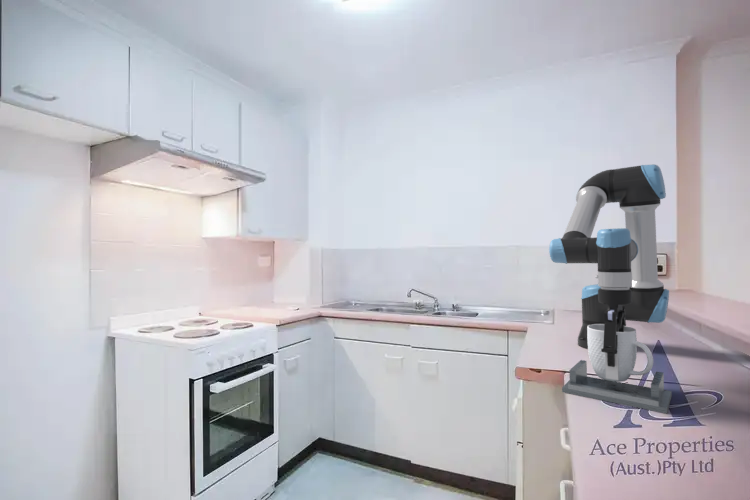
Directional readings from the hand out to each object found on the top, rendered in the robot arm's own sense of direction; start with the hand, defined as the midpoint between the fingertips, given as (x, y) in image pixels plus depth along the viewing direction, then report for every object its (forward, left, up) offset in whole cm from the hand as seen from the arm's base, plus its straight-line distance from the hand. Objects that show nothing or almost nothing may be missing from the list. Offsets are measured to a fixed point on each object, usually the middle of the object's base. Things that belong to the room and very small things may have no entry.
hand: (616, 372), depth 101 cm
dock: (+2, 0, -5) cm, 5 cm away
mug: (0, 0, -2) cm, 2 cm away
